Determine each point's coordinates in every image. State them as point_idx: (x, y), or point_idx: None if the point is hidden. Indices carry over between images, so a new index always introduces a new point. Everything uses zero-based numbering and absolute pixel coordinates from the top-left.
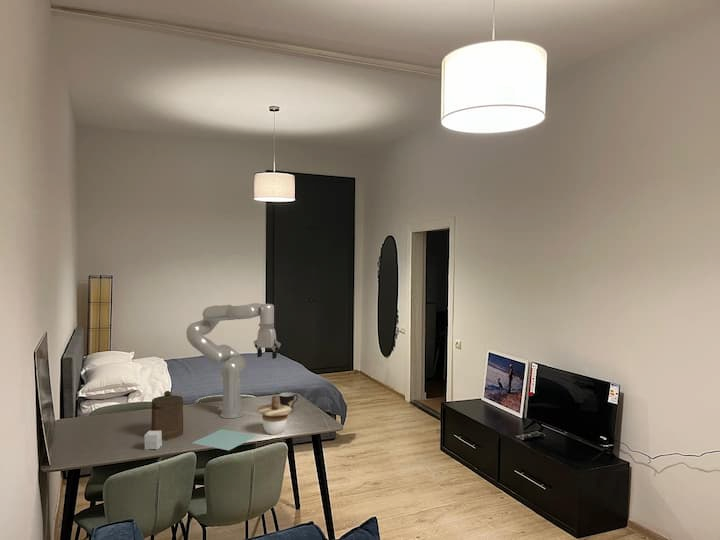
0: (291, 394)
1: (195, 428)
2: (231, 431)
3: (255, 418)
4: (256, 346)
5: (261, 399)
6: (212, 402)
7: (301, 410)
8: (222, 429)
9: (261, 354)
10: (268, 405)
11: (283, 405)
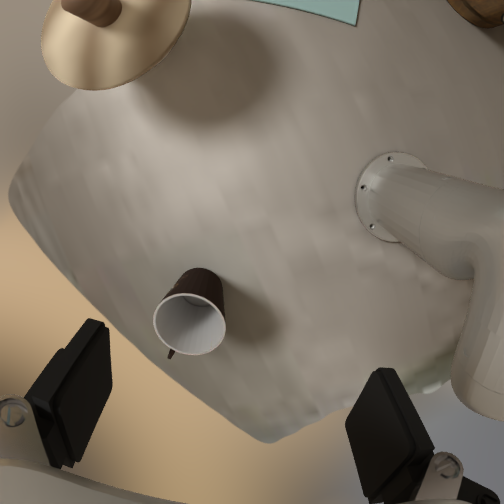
0: (181, 346)
1: (441, 39)
2: (307, 5)
3: (289, 176)
4: (470, 499)
5: (346, 386)
6: None
7: None
8: (350, 21)
9: (353, 436)
10: (153, 39)
11: (87, 80)
